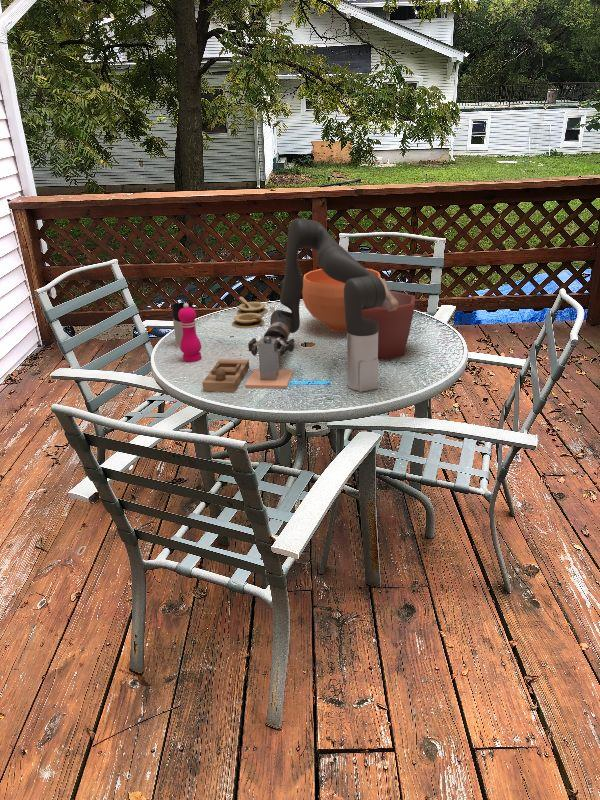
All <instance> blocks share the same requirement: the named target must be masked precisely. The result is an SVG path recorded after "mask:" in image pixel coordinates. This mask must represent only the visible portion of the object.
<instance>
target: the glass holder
mask: <svg viewBox="0 0 600 800" xmlns="http://www.w3.org/2000/svg"><path fill="white" fill-rule="evenodd" d="M184 303H187V304H188V305H189V307H190V308H193V309H194V304H193V303H192V302H189V301H187V302H186V301H185V302H182V301H181V302H177V303H174V304H172V305H171V311H172V321H173V331H174V338H175V344H174V346H175V345H176V346H177V347H176V346H175V347H176V348H178V347H180V344H181V340H182V337H183V328H182V327H181V320H180V319H179V317H178V313H179V311H180V309H182V308H184V307H183V305H184ZM194 321H195V322H196V319H195V320H194ZM195 332H196V333H197V328H196V325H195Z"/></svg>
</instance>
